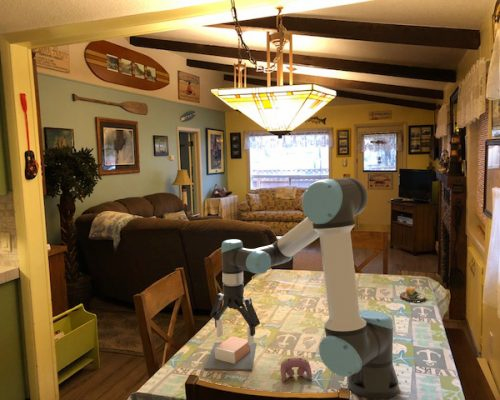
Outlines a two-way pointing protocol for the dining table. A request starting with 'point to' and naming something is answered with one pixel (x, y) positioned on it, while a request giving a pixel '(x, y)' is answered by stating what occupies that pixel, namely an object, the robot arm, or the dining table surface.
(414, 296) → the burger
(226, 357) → the block
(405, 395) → the dining table surface
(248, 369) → the mat
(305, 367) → the video game controller
